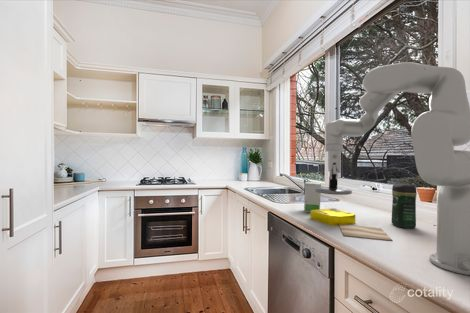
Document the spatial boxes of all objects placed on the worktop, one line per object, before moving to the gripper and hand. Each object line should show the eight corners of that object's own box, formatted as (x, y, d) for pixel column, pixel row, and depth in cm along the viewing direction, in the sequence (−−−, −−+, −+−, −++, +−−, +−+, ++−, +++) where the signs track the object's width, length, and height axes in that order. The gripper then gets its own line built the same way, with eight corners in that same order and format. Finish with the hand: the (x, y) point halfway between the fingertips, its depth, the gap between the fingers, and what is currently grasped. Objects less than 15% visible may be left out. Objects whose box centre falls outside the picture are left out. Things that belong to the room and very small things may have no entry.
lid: (354, 195, 108) (354, 178, 108) (315, 193, 113) (315, 177, 113) (349, 190, 123) (349, 176, 123) (314, 189, 128) (314, 174, 128)
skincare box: (303, 212, 135) (304, 182, 135) (304, 209, 141) (304, 181, 141) (320, 213, 132) (321, 183, 132) (320, 211, 139) (320, 182, 139)
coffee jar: (419, 229, 105) (420, 185, 105) (398, 228, 106) (399, 184, 106) (407, 223, 114) (408, 182, 115) (388, 222, 116) (389, 182, 116)
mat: (392, 241, 90) (392, 239, 90) (343, 236, 94) (343, 235, 94) (380, 228, 105) (380, 228, 105) (339, 225, 110) (339, 224, 110)
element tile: (308, 218, 122) (308, 208, 122) (332, 216, 128) (332, 207, 128) (331, 227, 108) (331, 215, 108) (357, 224, 114) (357, 213, 114)
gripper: (344, 147, 109) (344, 190, 109) (340, 149, 125) (339, 186, 125) (326, 147, 111) (325, 189, 111) (324, 148, 127) (323, 185, 127)
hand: (333, 187), depth 118 cm, fingers closed on lid, 3 cm apart
